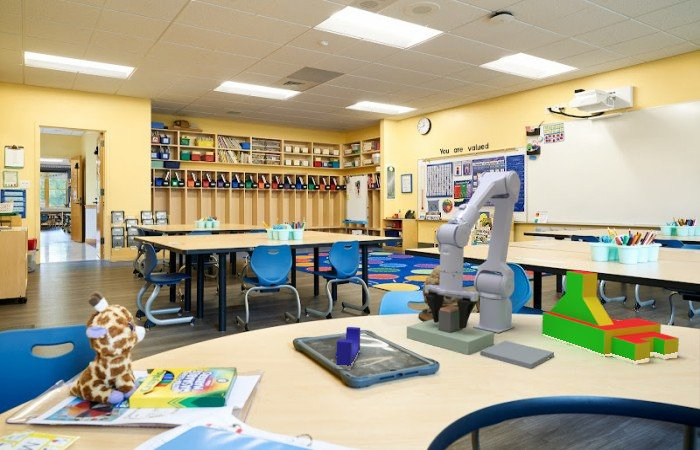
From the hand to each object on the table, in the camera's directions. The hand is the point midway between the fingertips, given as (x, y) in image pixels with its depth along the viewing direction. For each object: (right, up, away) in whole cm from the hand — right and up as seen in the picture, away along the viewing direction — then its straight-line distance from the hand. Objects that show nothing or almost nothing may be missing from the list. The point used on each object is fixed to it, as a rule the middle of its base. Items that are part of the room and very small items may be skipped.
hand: (449, 324), depth 119 cm
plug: (0, -4, 0) cm, 4 cm away
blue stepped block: (-26, -5, -15) cm, 31 cm away
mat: (+13, -5, -10) cm, 18 cm away
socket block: (0, -4, 0) cm, 4 cm away
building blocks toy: (+40, -6, -1) cm, 40 cm away
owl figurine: (+2, -4, +21) cm, 21 cm away
